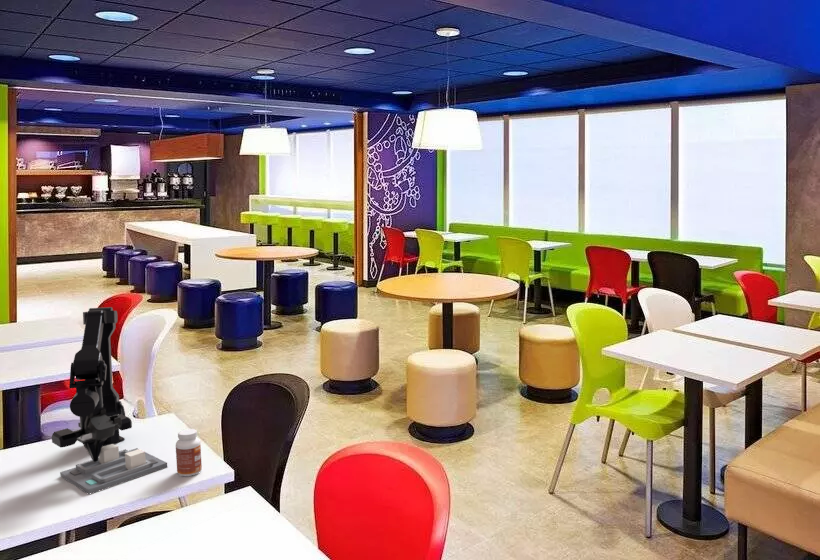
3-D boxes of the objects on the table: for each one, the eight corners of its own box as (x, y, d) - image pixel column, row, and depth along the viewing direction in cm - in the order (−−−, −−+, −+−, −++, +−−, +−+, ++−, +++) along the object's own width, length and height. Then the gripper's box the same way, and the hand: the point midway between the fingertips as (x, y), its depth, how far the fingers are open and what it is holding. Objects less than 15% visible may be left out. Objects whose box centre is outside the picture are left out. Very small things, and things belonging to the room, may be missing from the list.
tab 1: (99, 462, 185) (98, 448, 184) (114, 457, 188) (113, 443, 187) (104, 465, 183) (103, 451, 182) (119, 460, 186) (118, 446, 185)
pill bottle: (199, 476, 178) (197, 435, 177) (175, 478, 178) (172, 436, 176) (203, 466, 184) (201, 426, 183) (179, 468, 184) (177, 428, 182)
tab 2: (125, 468, 181) (124, 453, 180) (140, 463, 184) (139, 448, 183) (131, 471, 179) (130, 456, 178) (146, 466, 182) (145, 451, 181)
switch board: (60, 476, 179) (59, 468, 179) (137, 452, 195) (136, 444, 194) (88, 494, 169) (88, 485, 168) (167, 467, 184) (166, 459, 184)
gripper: (67, 420, 168) (72, 481, 170) (140, 401, 182) (144, 458, 184) (48, 410, 175) (53, 469, 177) (119, 393, 189) (123, 447, 191)
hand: (95, 461), depth 182 cm, fingers closed
